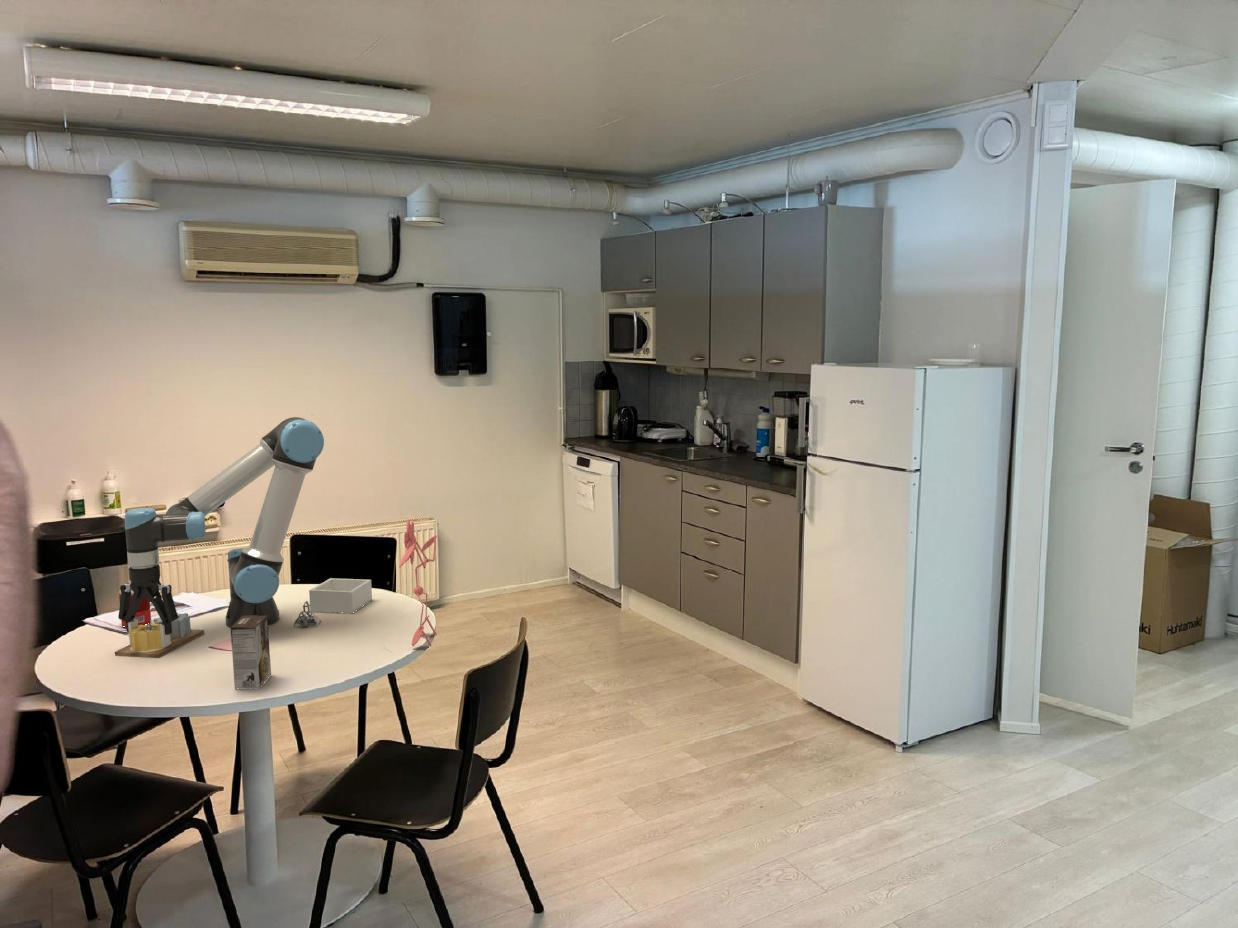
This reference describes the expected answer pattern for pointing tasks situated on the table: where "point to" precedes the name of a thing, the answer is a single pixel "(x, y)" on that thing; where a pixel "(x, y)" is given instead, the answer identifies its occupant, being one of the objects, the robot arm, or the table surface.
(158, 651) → the gear board
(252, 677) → the coffee box
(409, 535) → the figurine
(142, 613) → the canned food
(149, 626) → the peg
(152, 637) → the ochre gear
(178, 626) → the gear
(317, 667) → the table surface
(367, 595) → the box
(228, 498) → the robot arm
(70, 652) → the table surface
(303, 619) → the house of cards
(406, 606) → the table surface
